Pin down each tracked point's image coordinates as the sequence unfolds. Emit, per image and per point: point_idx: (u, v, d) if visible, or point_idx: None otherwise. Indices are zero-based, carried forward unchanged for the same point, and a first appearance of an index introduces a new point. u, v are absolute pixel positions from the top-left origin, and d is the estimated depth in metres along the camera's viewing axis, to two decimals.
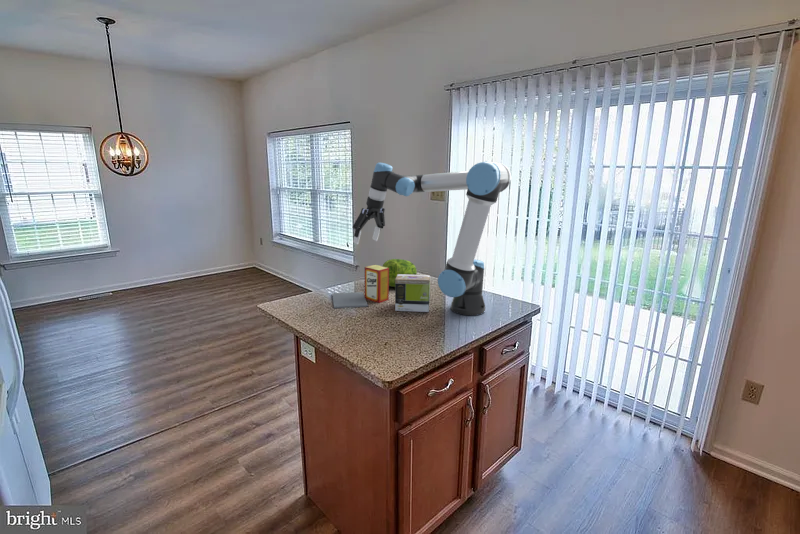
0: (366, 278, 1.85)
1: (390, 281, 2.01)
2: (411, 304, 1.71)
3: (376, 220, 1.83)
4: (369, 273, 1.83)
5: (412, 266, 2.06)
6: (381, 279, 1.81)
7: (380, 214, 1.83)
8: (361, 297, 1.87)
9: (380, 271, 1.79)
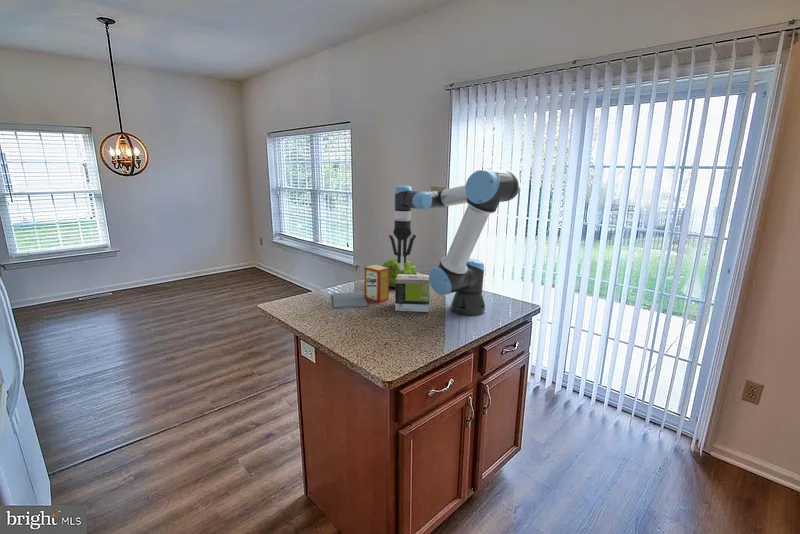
0: (366, 278, 1.85)
1: (390, 281, 2.01)
2: (411, 304, 1.71)
3: (403, 245, 1.84)
4: (369, 273, 1.83)
5: (412, 266, 2.06)
6: (381, 279, 1.81)
7: (410, 240, 1.84)
8: (361, 297, 1.87)
9: (380, 271, 1.79)
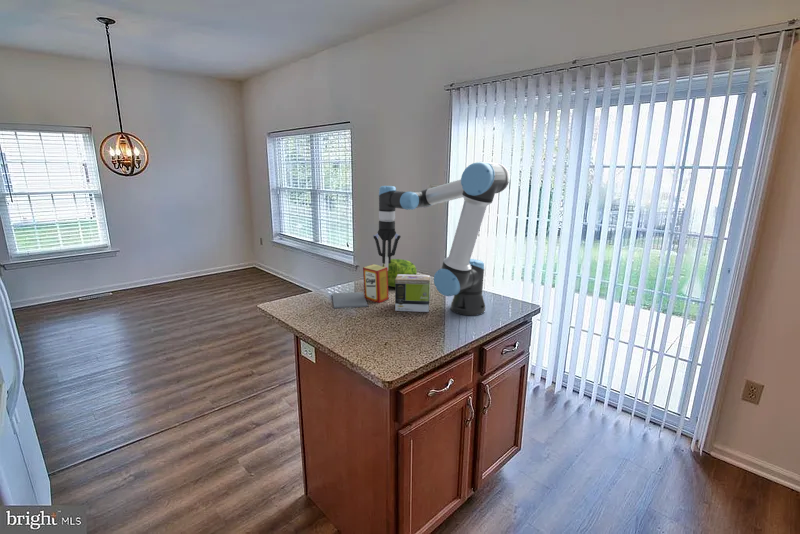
0: (365, 278, 1.85)
1: (390, 281, 2.01)
2: (411, 304, 1.71)
3: (388, 245, 1.83)
4: (368, 273, 1.83)
5: (412, 266, 2.06)
6: (380, 279, 1.80)
7: (395, 241, 1.83)
8: (361, 297, 1.87)
9: (378, 271, 1.79)
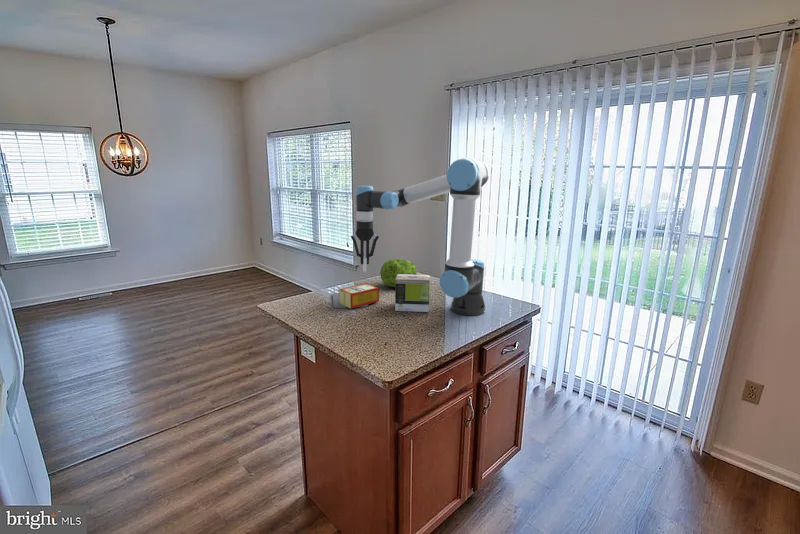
0: None
1: (390, 281, 2.01)
2: (411, 304, 1.71)
3: (366, 246, 1.81)
4: None
5: (412, 266, 2.06)
6: (359, 303, 1.75)
7: (373, 241, 1.81)
8: None
9: (352, 306, 1.72)
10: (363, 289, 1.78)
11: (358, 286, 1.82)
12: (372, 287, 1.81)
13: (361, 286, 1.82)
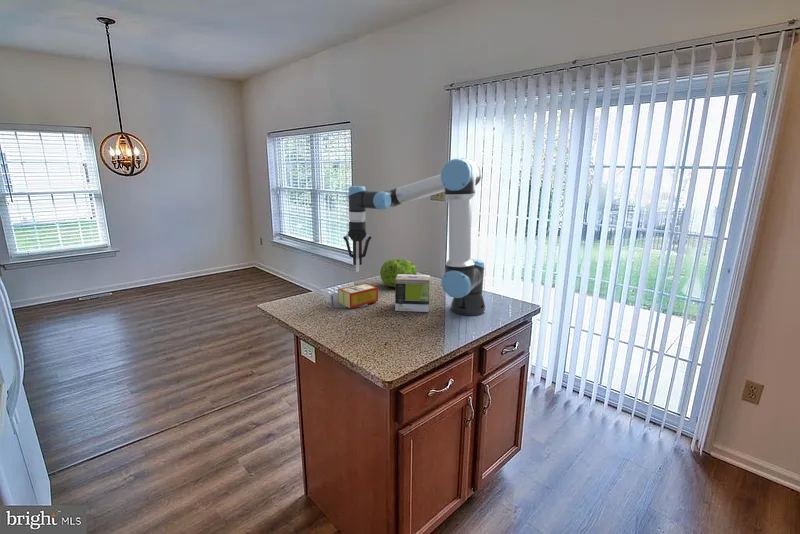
0: None
1: (390, 281, 2.01)
2: (411, 304, 1.71)
3: None
4: None
5: (412, 266, 2.06)
6: (358, 302, 1.75)
7: None
8: None
9: (351, 306, 1.73)
10: (362, 288, 1.79)
11: (357, 286, 1.83)
12: (371, 287, 1.82)
13: (360, 286, 1.82)
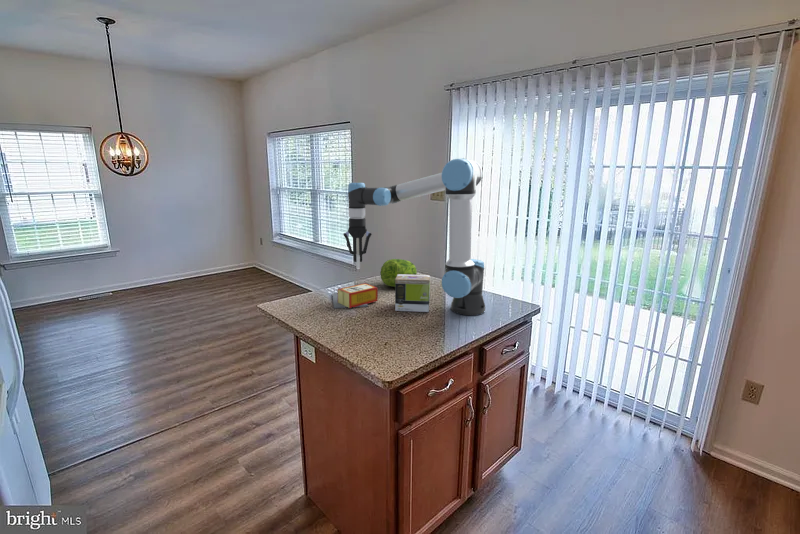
0: None
1: (390, 281, 2.01)
2: (411, 304, 1.71)
3: (359, 243, 1.79)
4: None
5: (412, 266, 2.06)
6: (358, 302, 1.75)
7: (366, 238, 1.80)
8: None
9: (350, 305, 1.73)
10: (362, 288, 1.79)
11: (357, 286, 1.83)
12: (371, 287, 1.82)
13: (360, 286, 1.83)
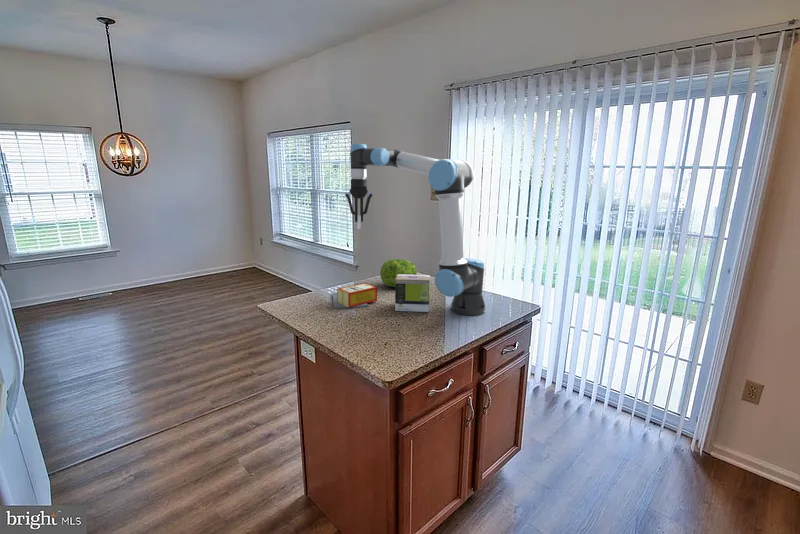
0: None
1: (390, 281, 2.01)
2: (411, 304, 1.71)
3: (360, 204, 1.86)
4: None
5: (412, 266, 2.06)
6: (357, 302, 1.76)
7: (367, 199, 1.87)
8: None
9: (350, 305, 1.73)
10: (361, 288, 1.79)
11: (356, 285, 1.83)
12: (370, 286, 1.82)
13: (359, 286, 1.83)
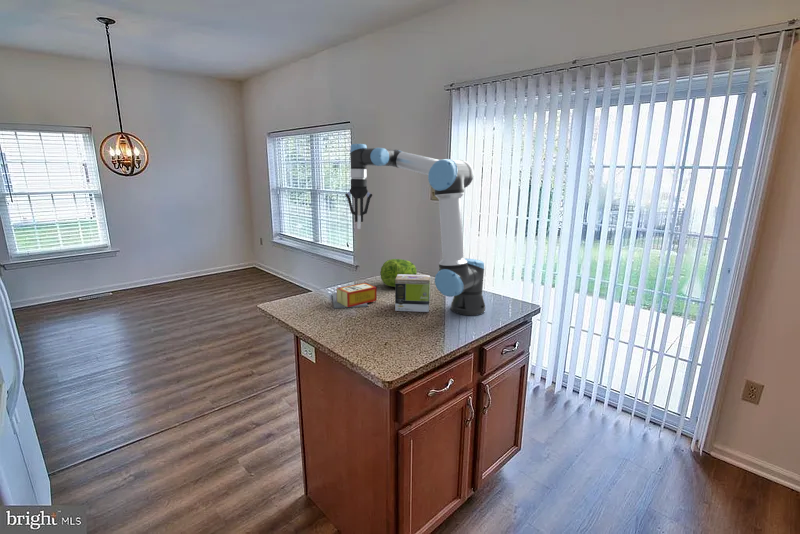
0: None
1: (390, 281, 2.01)
2: (411, 304, 1.71)
3: (360, 204, 1.86)
4: None
5: (412, 266, 2.06)
6: (356, 302, 1.76)
7: (367, 199, 1.87)
8: None
9: (348, 305, 1.74)
10: (361, 288, 1.80)
11: (356, 285, 1.84)
12: (370, 286, 1.82)
13: (359, 285, 1.83)
